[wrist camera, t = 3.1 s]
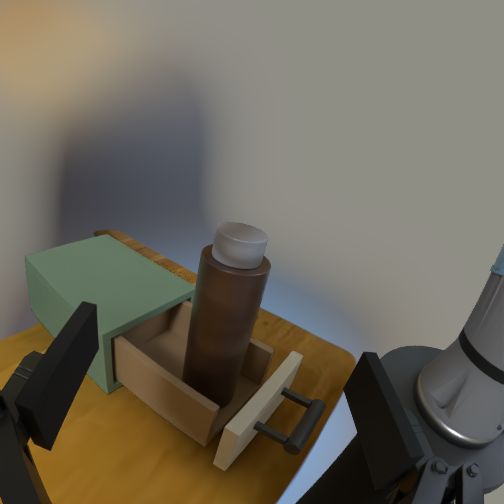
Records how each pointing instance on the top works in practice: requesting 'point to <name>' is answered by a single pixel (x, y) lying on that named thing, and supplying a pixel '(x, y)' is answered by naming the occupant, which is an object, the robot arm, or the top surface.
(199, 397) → the drawer
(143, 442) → the top surface
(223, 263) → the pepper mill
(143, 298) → the cabinet
